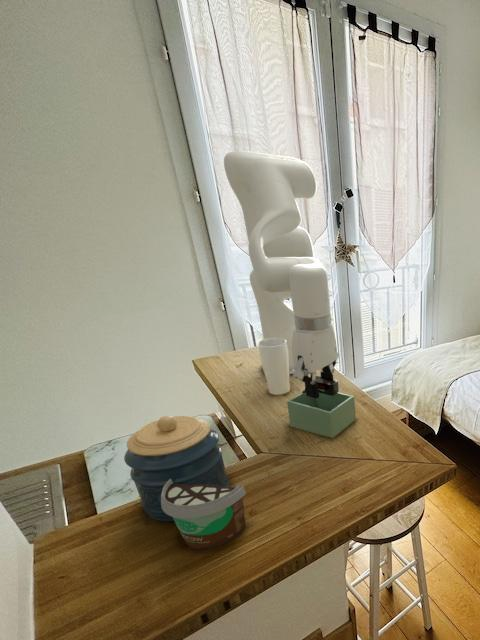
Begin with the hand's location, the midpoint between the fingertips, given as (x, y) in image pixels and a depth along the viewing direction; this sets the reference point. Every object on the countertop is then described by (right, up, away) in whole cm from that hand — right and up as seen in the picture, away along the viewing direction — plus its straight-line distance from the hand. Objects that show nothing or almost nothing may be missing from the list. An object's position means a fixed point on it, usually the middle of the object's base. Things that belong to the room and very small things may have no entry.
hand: (320, 391), depth 96 cm
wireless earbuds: (0, -1, 0) cm, 1 cm away
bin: (-1, -8, +4) cm, 9 cm away
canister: (-15, -19, -22) cm, 33 cm away
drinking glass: (-19, -1, +15) cm, 24 cm away
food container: (-6, -24, -30) cm, 39 cm away
